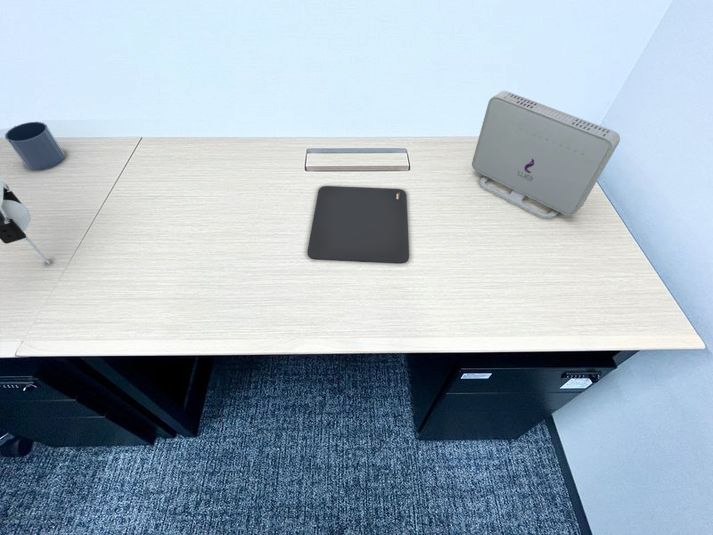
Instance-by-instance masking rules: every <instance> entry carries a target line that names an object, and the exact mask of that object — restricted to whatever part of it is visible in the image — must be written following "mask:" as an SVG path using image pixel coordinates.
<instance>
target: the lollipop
mask: <svg viewBox="0 0 713 535" xmlns="http://www.w3.org/2000/svg"><path fill="white" fill-rule="evenodd" d="M1 207H2V209H3V210H4V212H5V214H6V215H7V217H8V218H9V219H13V220H14V222H15V223H16V224H17V225H18V226H19V227H20V228H21V230H22V231H23V232H24V231H25V230H26V229H27V228H28V227H29V226H30V224H31V220H32V219H31V218H32V217H31V213H30V209H29V208H28V207H27V206H26V205H24V204H23V203H22V204H20V203H18V202H16V201H12V200H3V203H2V205H1ZM24 240H26V241H27V242H28V243H29V245H30V246H31V247H32V249H34V250H35V251H36V252H37V254H38V255H39V256H40V257H41V258H42V259H43V260H44V261H45V263H46V264H47V265H50V264H51V261H50V260H49V259H48V258H47V257H46V255H45V254H43V252H42V251H41V250H40V249H39V248H38V247H37V246H36V244H35V243H34V242H33V241H32V240H31V239H30V237H29V236H28V235H27V234H26V238H24Z"/></svg>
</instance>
